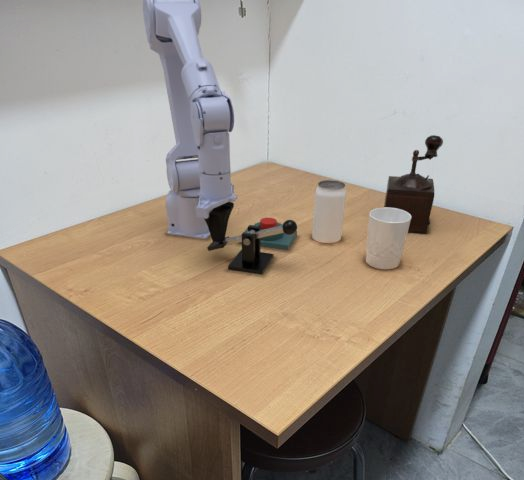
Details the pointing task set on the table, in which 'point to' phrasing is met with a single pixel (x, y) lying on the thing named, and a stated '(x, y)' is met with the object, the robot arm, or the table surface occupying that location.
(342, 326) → the table surface
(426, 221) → the brown coffee grinder
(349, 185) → the table surface
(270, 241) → the button block
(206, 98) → the robot arm
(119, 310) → the table surface
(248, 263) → the bracket
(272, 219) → the button
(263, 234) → the lever
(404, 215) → the white cup
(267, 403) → the table surface
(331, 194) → the can
